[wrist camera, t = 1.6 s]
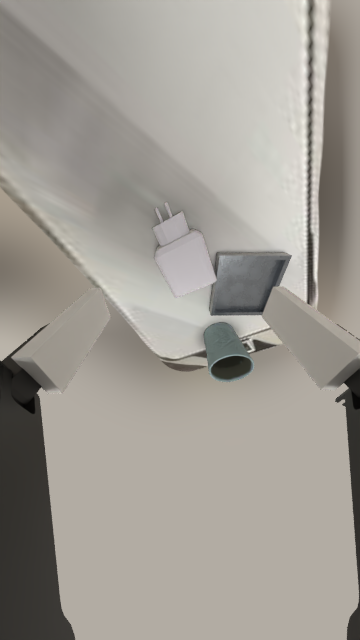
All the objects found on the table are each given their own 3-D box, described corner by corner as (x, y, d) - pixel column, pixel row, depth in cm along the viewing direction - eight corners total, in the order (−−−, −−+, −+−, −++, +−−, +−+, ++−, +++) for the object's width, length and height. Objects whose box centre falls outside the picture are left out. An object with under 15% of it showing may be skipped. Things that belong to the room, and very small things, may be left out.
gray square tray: (216, 252, 30) (219, 255, 28) (284, 252, 30) (291, 255, 28) (209, 309, 38) (210, 315, 36) (262, 309, 38) (266, 314, 36)
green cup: (204, 319, 40) (213, 354, 30) (241, 320, 40) (262, 355, 31) (199, 345, 46) (205, 382, 36) (232, 346, 46) (246, 382, 37)
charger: (186, 190, 24) (213, 273, 33) (139, 218, 26) (175, 289, 35) (188, 187, 21) (217, 281, 29) (132, 220, 23) (174, 299, 31)
